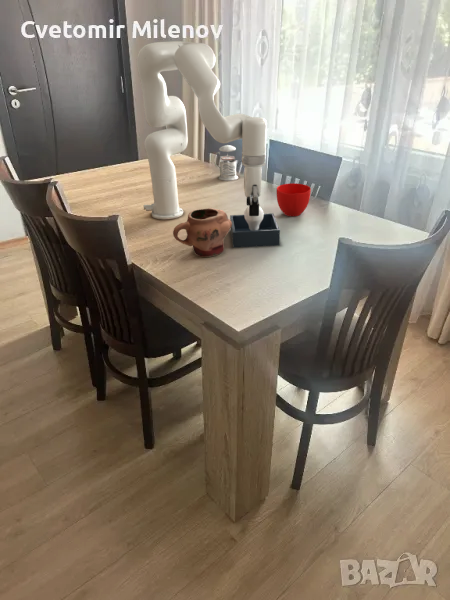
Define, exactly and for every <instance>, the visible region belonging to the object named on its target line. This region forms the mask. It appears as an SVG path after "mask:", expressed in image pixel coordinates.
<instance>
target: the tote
mask: <svg viewBox="0 0 450 600" xmlns="http://www.w3.org/2000/svg"><path fill="white" fill-rule="evenodd" d="M229 220H231V222H232V226H231V228H230V237H231V242H232V248H233V249H236V248H237V249H239V248H240V249H241V248H258V247H279V246H280V244H281V243H280V241H281V229H280V226H279V223H278V221H277V219H276V216H275V214H274V212H269V213H264V217H263V220H262V221H261V223H260V225H259V229H258V230H253V231H250V229H249V225H248V223H247V221H246V220H245V217H244V214H231V215H230V216H229Z"/></svg>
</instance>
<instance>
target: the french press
mask: <svg viewBox="0 0 450 600" xmlns="http://www.w3.org/2000/svg"><path fill="white" fill-rule="evenodd" d="M228 143H229V142H228ZM228 143H226V145H222V146H220V147H219V148H218V150H219V151H217V152H216V153H215V154H214V156H213V163H214V166H217V168H218V169H219V176H218V179H219V180H221V181H235V180H237V179H239V176H238V175H237V160H236V157H235V156H234V155H229V152H235V151H236V150H237V148H236V147H235V146H234V145H229V144H228ZM221 152H227V155H223V156H221V157H220V160H219V165H217V163H216V160H215V158H216V155H218V154H219V156H220V155H221Z"/></svg>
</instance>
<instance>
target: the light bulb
mask: <svg viewBox="0 0 450 600" xmlns="http://www.w3.org/2000/svg"><path fill="white" fill-rule="evenodd" d="M264 214H265V213H264V210H263V209H262V207H261V206H259V216H249V206H247V208H245V210H244V214H243V215H244V217H245V220H246V221H247V223H248V225H249V229H250V231H253V230H258V229H259V225H260V223H261V221H262V220H263V217H264Z"/></svg>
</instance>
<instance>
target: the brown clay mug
mask: <svg viewBox="0 0 450 600" xmlns="http://www.w3.org/2000/svg"><path fill="white" fill-rule="evenodd" d="M231 226H232V222H231V220H230V218H229V217H228V214H227V213H226V212H225V211H224V210H222V209H217V208H212V207H211V208H210V207H209V208H199V209H194V210H192V211H190V212H189V213H188V214H187V219H186V221H184V222H180V223H179V224H177V225H175V227H174V228H173V230H172V235H173V238H174V240H176V241H178V242H179V243H181V244H182V245H186V246H188V247H192V249H193V253H194V254H195V255H197V256H198V257H202V258H209V257H215V256H218V255H220V254H222V253H223V252H224V251H225V243H224V240H225V238H226V236H227V235H228V233H229V232H230V231H231ZM183 230H185V231H186V237H185V239H181V238H179V236H178V235H179V232H180V231H183Z"/></svg>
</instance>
